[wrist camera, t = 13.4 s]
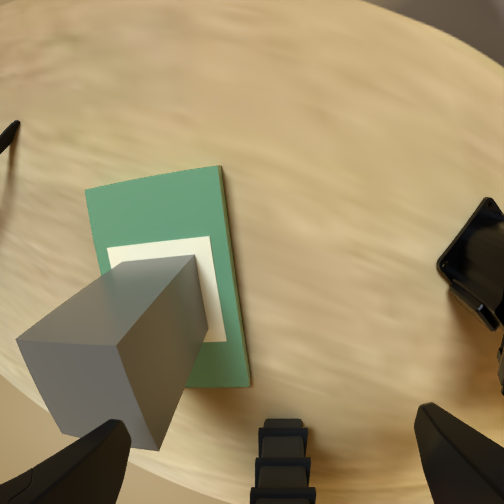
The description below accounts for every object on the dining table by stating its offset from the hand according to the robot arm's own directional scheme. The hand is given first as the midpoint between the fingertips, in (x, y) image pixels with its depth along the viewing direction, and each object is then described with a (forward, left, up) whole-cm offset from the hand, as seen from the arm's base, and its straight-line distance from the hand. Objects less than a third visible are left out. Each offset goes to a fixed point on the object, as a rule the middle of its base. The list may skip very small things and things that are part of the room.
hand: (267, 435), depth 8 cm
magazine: (+12, +11, -13) cm, 21 cm away
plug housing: (+5, -5, -12) cm, 14 cm away
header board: (+5, -5, -13) cm, 15 cm away
